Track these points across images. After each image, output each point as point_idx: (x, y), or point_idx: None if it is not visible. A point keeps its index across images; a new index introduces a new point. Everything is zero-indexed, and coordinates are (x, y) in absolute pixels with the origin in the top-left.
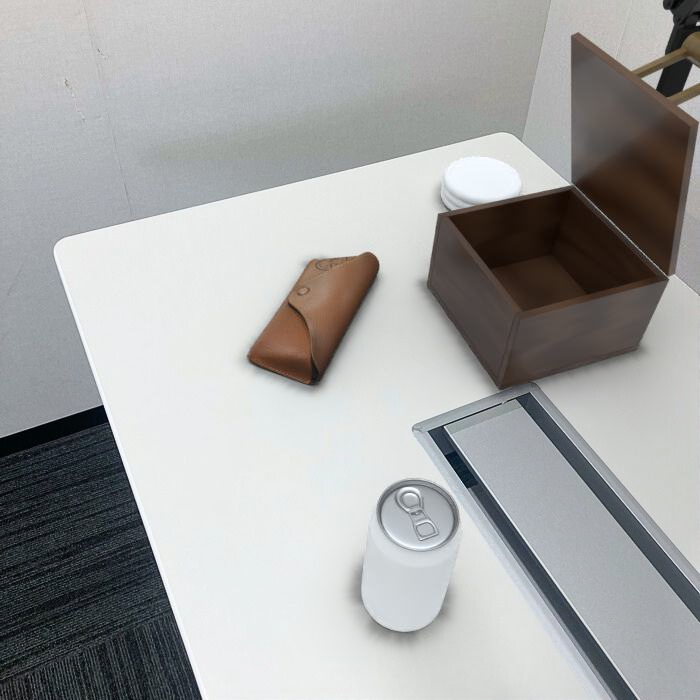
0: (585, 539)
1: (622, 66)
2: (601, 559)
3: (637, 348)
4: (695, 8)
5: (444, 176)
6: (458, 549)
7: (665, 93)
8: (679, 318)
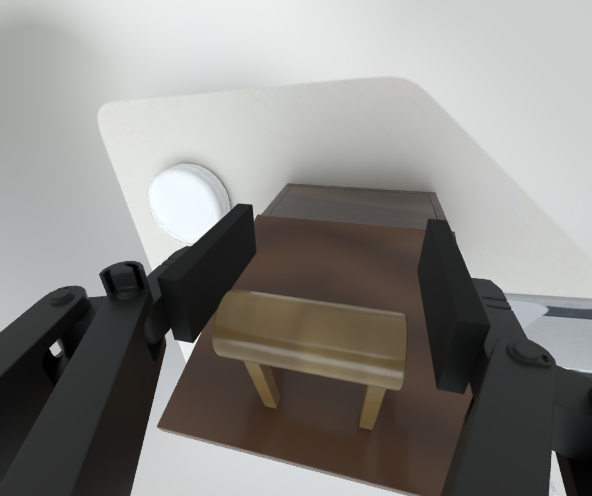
0: (550, 339)
1: (280, 459)
2: (570, 340)
3: (435, 193)
4: (153, 380)
5: (177, 239)
6: (550, 481)
7: (252, 246)
8: (424, 117)
